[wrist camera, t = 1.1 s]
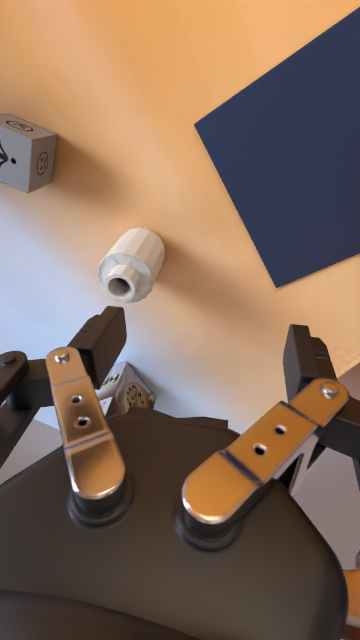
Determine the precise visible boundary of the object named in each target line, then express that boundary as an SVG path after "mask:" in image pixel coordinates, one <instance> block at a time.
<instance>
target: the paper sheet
mask: <svg viewBox="0 0 360 640" xmlns="http://www.w3.org/2000/svg"><path fill="white" fill-rule="evenodd" d="M194 126H195V128H196V129H197V131H198V133H199V135H200V137H201V139H202V141H203V143H204V145H205V147H206V149H207V151H208V153H209V155H210V157H211V159H212V161H213V163H214V165H215V167H216V169H217V171H218V173H219V175H220V177H221V179H222V181H223V183H224V185H225V187H226V189H227V191H228V193H229V195H230V197H231V199H232V201H233V203H234V205H235V207H236V209H237V211H238V213H239V215H240V217H241V219H242V221H243V223H244V225H245V227H246V229H247V231H248V233H249V235H250V237H251V239H252V241H253V243H254V245H255V247H256V249H257V251H258V253H259V255H260V257H261V259H262V261H263V263H264V265H265V267H266V269H267V271H268V273H269V274H270V276H271V278H272V280H273V282H274V284H275V286H276V288H278V287H281V286H283V285H285V284H288V283H290V282H292V281H295V280H297V279H300V278H302V277H304V276H307V275H309V274H311V273H314V272H316V271H318V270H321V269H323V268H326V267H328V266H330V265H333V264H335V263H337V262H340V261H342V260H344V259H347V258H349V257H352V256H354V255H356V254H359V253H360V7H359V8H358V9H356V10H355V11H353V12H352V13H351V14H349V15H348V16H346V17H345V18H344V19H342V20H341V21H339V22H338V23H336V24H335V25H334V26H332V27H331V28H329V29H328V30H327V31H325V32H324V33H322V34H321V35H320V36H318V37H317V38H315V39H314V40H312V41H311V42H310V43H308V44H307V45H305V46H304V47H303V48H301V49H300V50H298V51H297V52H295V53H294V54H293V55H291V56H290V57H288V58H287V59H286V60H284V61H283V62H281V63H280V64H279V65H277V66H276V67H274V68H273V69H271V70H270V71H269V72H267V73H266V74H264V75H263V76H262V77H260V78H259V79H257V80H256V81H254V82H253V83H252V84H250V85H249V86H247V87H246V88H245V89H243V90H242V91H240V92H239V93H237V94H236V95H235V96H233V97H232V98H230V99H229V100H228V101H226V102H225V103H223V104H222V105H221V106H219V107H218V108H216V109H215V110H213V111H212V112H211V113H209V114H208V115H206V116H205V117H204V118H202V119H201V120H199V121H198V122H196V123H195V124H194Z"/></svg>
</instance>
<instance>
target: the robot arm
mask: <svg viewBox="0 0 360 640" xmlns="http://www.w3.org/2000/svg"><path fill="white" fill-rule="evenodd" d="M126 337H127V333H126V323H125V314H124V309H123V308H122V307H114V306H107V307H106V308H105V310H104V311H103V312H102V313H101V315H95V316H93V317H92V318H90V319H88V321H87V322H86V323H85V324H84V326H83V327H82V328H81V329H80V331H79V332H78V333H77V334H76V335H75V337H74V338H73V339H72V340H71V342H70V343H69V344H68V345H67V347H60V348H57V349H55V350H53V351H51V352H50V353H49V354H48V355H47V356H46V359H37V360H28V359H27V356H26V354H25V353H23V352H21V351H11V352H6V353H4V354H1V355H0V406H1V405H2V403H3V402H4V401H5V400H6V402H5V403H4V404H3V406H2V407H1V408H0V468H1V467H2V465H3V464H4V462H5V461H6V459H7V458H8V456H9V455H10V453H11V452H12V450H13V448H14V447H15V446H16V444H17V442H18V441H19V439H20V438H21V436H22V435H23V433H24V432H25V430H26V429H27V427H28V425H29V424H30V422H31V421H32V419H33V418H34V416H35V415H36V413H37V412H38V410H39V409H40V407H47V406H55V410H56V415H57V419H58V424H59V428H60V433H61V437H62V442H63V445H62V446H60V447H59V448H57V449H56V450H54V451H53V452H51V453H49V454H48V455H46V456H45V457H43V458H42V459H40V460H38V461H37V462H35V463H34V464H32V465H30V466H29V467H27V468H25V469H24V470H22V471H21V472H19V473H18V474H16V475H14V476H13V477H11V478H10V479H8V480H7V481H5V482H4V483H2V484H1V485H0V640H340V639H344V640H360V549H359V550H358V552H357V554H356V557H355V569H353V570H344V569H342V567H341V564H340V562H339V560H338V558H337V556H336V554H335V553H334V551H333V550H332V548H331V547H330V545H329V544H328V543H327V541H326V540H325V539H324V537H323V536H322V535H321V534H320V532H319V531H318V530H317V528H316V527H315V526H314V525H313V523H312V522H311V520H310V519H309V518H308V517H307V515H306V514H305V513H304V512H303V510H302V509H301V507H300V506H299V505H298V503H297V502H296V501H295V500H294V499H293V497H294V495H295V494H296V492H297V491H298V489H299V488H300V486H301V484H302V482H303V480H304V479H305V477H306V476H307V475H308V473H309V472H310V471H311V470H312V468H313V467H314V466H315V465H316V464H317V462H318V461H319V460H320V459H321V458H322V456H323V455H324V454H325V453H326V451H327V450H328V449H329V448H331V449H333V450H335V451H338V452H340V453H343V454H345V455H347V456H350V457H352V459H353V463H354V468H355V472H356V477H357V481H358V486H359V490H360V401H359V400H356V399H355V398H353V397H351V396H350V395H349V391H348V390H347V388H346V387H345V386H344V385H342V384H341V383H340V382H338V381H337V378H336V375H335V372H334V368H333V365H332V362H331V361H330V356H329V354H328V350H327V347H326V345H325V344H324V343H323V342H322V341H321V339H320V338H316V337H311V336H310V332H309V328H308V326H304V325H294V324H291V325H290V327H289V331H288V335H287V340H286V344H285V349H284V355H283V367H284V375H285V383H286V391H287V399H288V403H285V402H284V401H280V402H278V403H277V404H276V405H275V406H274V407H273V408H272V409H270V410H269V411H268V412H267V413H266V414H265V415H264V416H262V417H261V418H260V419H259V420H258V421H257V422H256V423H255V424H253V425H252V426H251V427H250V428H249V429H248V430H247V431H245V432H244V433H243V434H242V435H240V434H239V433H237V432H235V431H233V430H231V429H228V428H227V427H228V420H222V419H215V418H208V417H190V418H174V417H172V416H169V415H167V414H164V413H161V412H159V411H156V410H154V409H147V408H141V407H134V406H130V407H129V409H128V411H127V413H124V414H118V415H114V416H111V417H108V418H105V415H104V413H103V410H102V407H101V405H100V402H99V399H98V397H97V394H96V392H95V390H100V388H101V386H102V385H103V383H104V381H105V379H106V377H107V376H108V374H109V372H110V370H111V369H112V367H113V365H114V363H115V361H116V360H117V358H118V356H119V354H120V352H121V351H122V349H123V347H124V345H125V343H126Z"/></svg>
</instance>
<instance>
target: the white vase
mask: <svg viewBox="0 0 360 640" xmlns="http://www.w3.org/2000/svg"><path fill="white" fill-rule="evenodd" d="M164 258H165V247H164V244H163V242H162V240H161V238H160V237H159V236H158V235H157V234H156V233H155V232H153V231H151V230H149V229H147V228H142V227H136V228H132V229H130V230H128V231H127V232H125V233H124V234H123V235H122V236H121V238H120V239H119V240H118V241H117V242H116V244H115V245H114V246H113V247H112V249H111V250H110V251H109V252H108V254H107V255H106V256H105V257H104V259H103V260H102V262H101V263H100V265H99V268H98V278H99V281H100V284H101V286H102V288H103V289H104V290H105V292H106V293H107V294H108V296H109V297H110V298H112V299H114V300H116V301H118V302H126V303H130V302H138V301H140V300H142V299H144V298H146V297H147V295H148V294H149V293H150V291H151V290H152V287H153V285H154V283H155V280H156V278H157V276H158V273H159V271H160V269H161V266H162V264H163V261H164Z"/></svg>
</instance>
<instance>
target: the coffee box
mask: <svg viewBox="0 0 360 640" xmlns="http://www.w3.org/2000/svg"><path fill="white" fill-rule="evenodd" d="M95 392H96V394H97V397H98V399H99V402H100V405H101V407H102V410H103V413H104V415H105V418H108V417H111V416H114V415H118V414H124V413H127V411H128V409H129V407H130V406H134V407H141V408H147V409H153V407H154V403H155V399H156V397H155V396H154V394H153V393H152V392H151V391H150V390H149V388H148V387H147V386H146V385H145V384H144V382H143V381H142V380H141V379H140V378H139V376H138V375H137V374H136V373H135V372H134V370H133V369H132V368H131V367H130V366H129V364H128V363H127V362H124V363H121V364H118V365H115V366H113V367H112V369H111V370H110V372H109V374H108V376H107V377H106V379H105V381H104V383H103V385H102V386H101V388H100V390H95ZM62 445H63V444H62Z"/></svg>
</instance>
